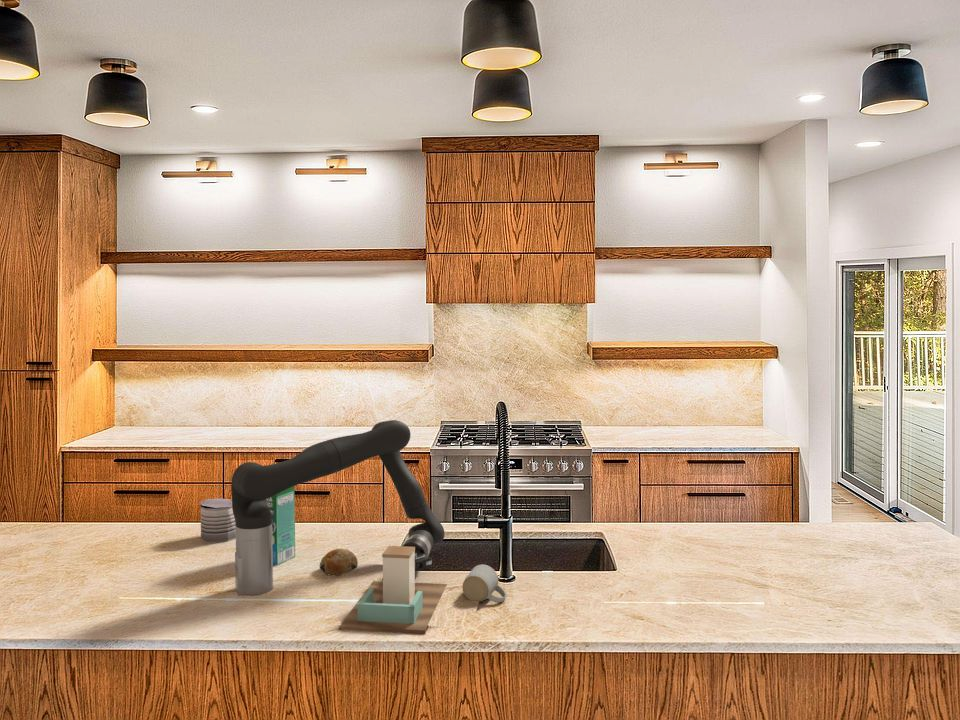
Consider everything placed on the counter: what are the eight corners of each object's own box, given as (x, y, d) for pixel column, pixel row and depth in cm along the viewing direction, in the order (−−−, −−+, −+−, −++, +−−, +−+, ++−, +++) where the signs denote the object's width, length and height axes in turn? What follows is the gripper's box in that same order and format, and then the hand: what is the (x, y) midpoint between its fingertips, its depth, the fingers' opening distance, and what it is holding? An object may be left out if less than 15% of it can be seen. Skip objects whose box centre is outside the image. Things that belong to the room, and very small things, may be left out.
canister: (389, 595, 195) (388, 545, 194) (415, 596, 194) (415, 546, 193) (382, 605, 188) (382, 554, 187) (409, 606, 187) (409, 555, 186)
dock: (369, 604, 188) (369, 588, 188) (422, 607, 187) (422, 591, 187) (357, 620, 178) (357, 604, 178) (413, 623, 177) (413, 606, 176)
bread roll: (342, 590, 211) (354, 565, 209) (311, 572, 212) (322, 547, 211) (355, 578, 220) (366, 554, 219) (325, 560, 222) (336, 537, 221)
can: (211, 532, 253) (210, 496, 252) (244, 533, 252) (243, 497, 251) (193, 542, 242) (193, 505, 241) (227, 543, 240) (227, 506, 240)
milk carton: (251, 562, 223) (249, 477, 221) (270, 553, 231) (269, 471, 230) (276, 566, 219) (275, 480, 218) (295, 556, 228) (294, 473, 226)
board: (373, 583, 205) (373, 580, 205) (446, 587, 203) (446, 584, 203) (339, 629, 176) (339, 625, 175) (425, 633, 173) (425, 630, 173)
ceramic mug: (460, 602, 192) (460, 572, 192) (470, 591, 200) (471, 562, 200) (500, 608, 189) (501, 577, 189) (509, 596, 197) (510, 567, 196)
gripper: (391, 536, 211) (375, 556, 194) (438, 538, 210) (427, 558, 193) (391, 563, 212) (376, 585, 195) (438, 565, 210) (427, 587, 193)
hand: (401, 572), depth 194 cm, fingers closed
